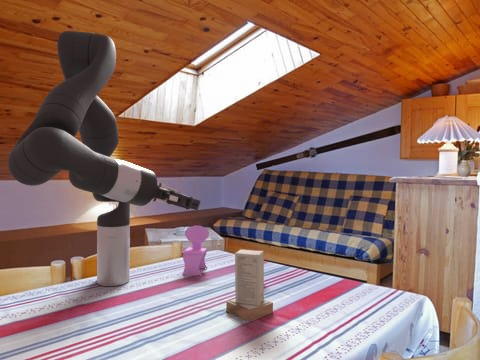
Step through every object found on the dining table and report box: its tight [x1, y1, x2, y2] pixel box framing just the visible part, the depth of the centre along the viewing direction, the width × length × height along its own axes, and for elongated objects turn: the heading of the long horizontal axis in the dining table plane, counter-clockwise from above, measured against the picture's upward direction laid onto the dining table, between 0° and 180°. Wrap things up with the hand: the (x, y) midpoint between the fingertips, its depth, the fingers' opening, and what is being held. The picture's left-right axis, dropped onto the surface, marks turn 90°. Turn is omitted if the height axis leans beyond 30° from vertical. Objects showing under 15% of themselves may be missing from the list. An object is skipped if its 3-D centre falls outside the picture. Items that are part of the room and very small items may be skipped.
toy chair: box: [182, 225, 210, 277], centre depth 123 cm, size 8×9×15 cm
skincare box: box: [234, 249, 265, 305], centre depth 90 cm, size 6×4×12 cm
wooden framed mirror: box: [225, 298, 274, 323], centre depth 90 cm, size 8×8×3 cm
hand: (185, 200), depth 84 cm, fingers open, 8 cm apart
